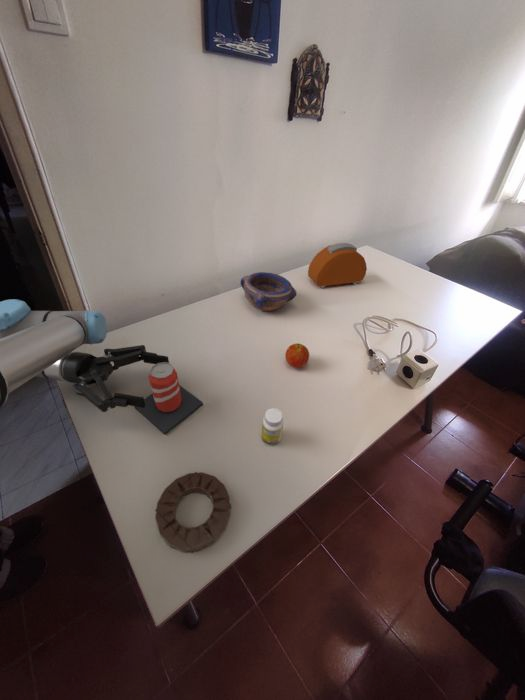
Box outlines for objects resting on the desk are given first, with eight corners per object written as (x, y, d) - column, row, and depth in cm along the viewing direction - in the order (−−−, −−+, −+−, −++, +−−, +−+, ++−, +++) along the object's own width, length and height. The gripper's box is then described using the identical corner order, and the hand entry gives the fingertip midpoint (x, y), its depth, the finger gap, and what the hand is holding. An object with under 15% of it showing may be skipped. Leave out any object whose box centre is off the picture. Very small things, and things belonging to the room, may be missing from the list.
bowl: (298, 313, 115) (302, 289, 108) (253, 322, 109) (254, 297, 102) (278, 289, 127) (280, 267, 121) (236, 296, 121) (236, 273, 115)
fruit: (309, 359, 95) (313, 339, 90) (304, 374, 90) (308, 354, 85) (287, 354, 97) (290, 334, 92) (281, 368, 92) (284, 348, 87)
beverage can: (165, 391, 81) (158, 357, 73) (186, 399, 80) (181, 366, 72) (150, 408, 77) (141, 373, 69) (172, 417, 75) (165, 383, 67)
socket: (191, 570, 53) (189, 567, 52) (142, 515, 59) (140, 511, 58) (244, 507, 61) (244, 502, 60) (197, 464, 67) (196, 460, 66)
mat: (165, 435, 72) (164, 432, 72) (134, 408, 78) (133, 405, 77) (203, 405, 80) (203, 402, 79) (173, 382, 85) (172, 379, 85)
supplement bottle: (268, 425, 76) (271, 403, 71) (284, 435, 74) (288, 413, 69) (257, 438, 73) (258, 416, 68) (273, 449, 71) (276, 427, 66)
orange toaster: (352, 274, 141) (362, 238, 131) (363, 284, 135) (374, 246, 124) (305, 280, 135) (312, 242, 124) (314, 290, 129) (322, 251, 118)
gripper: (104, 346, 87) (178, 357, 85) (42, 417, 68) (135, 434, 66) (97, 324, 82) (174, 336, 80) (28, 395, 63) (127, 412, 61)
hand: (156, 380), depth 73 cm, fingers open, 13 cm apart
